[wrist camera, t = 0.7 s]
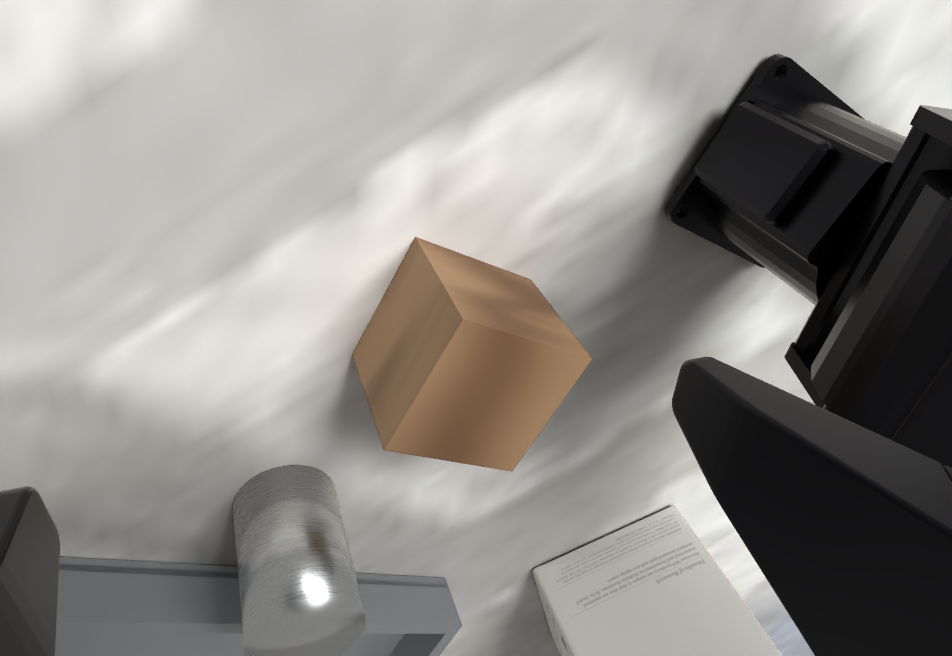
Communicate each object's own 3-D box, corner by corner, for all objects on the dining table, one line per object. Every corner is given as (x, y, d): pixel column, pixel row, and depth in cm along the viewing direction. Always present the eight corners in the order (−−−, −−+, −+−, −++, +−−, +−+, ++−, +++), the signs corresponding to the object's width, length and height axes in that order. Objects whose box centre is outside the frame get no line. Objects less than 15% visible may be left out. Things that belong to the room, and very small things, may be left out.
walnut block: (530, 278, 25) (592, 359, 21) (464, 380, 27) (512, 471, 23) (415, 235, 22) (463, 319, 19) (351, 352, 24) (384, 450, 21)
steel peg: (351, 472, 28) (385, 599, 23) (312, 538, 29) (337, 669, 25) (254, 458, 25) (271, 596, 21) (218, 530, 27) (226, 673, 22)
